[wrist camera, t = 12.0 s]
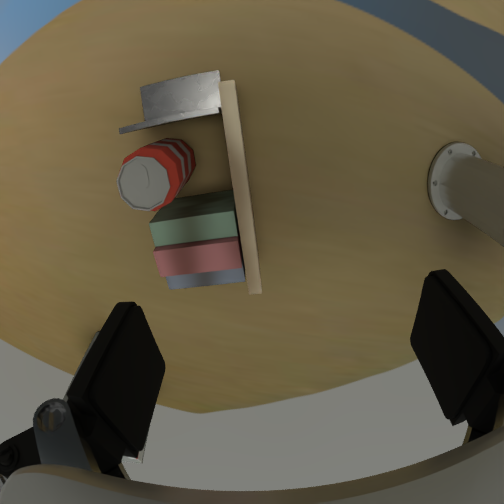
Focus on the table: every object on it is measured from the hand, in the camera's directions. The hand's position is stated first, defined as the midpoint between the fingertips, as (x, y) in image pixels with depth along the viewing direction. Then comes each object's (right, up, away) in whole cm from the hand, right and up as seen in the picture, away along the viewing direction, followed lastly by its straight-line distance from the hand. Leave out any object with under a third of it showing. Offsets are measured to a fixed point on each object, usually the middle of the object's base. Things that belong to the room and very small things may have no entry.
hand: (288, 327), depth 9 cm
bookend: (-10, +21, +23) cm, 32 cm away
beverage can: (-11, +14, +26) cm, 32 cm away
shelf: (-7, +11, +28) cm, 31 cm away
